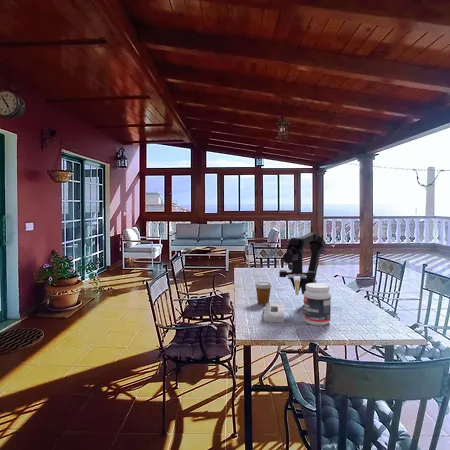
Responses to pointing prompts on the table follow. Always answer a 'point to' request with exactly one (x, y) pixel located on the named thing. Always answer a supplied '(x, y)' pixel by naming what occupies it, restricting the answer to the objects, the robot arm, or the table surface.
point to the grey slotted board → (274, 312)
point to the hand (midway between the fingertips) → (296, 290)
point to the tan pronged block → (297, 286)
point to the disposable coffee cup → (263, 292)
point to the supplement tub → (317, 304)
